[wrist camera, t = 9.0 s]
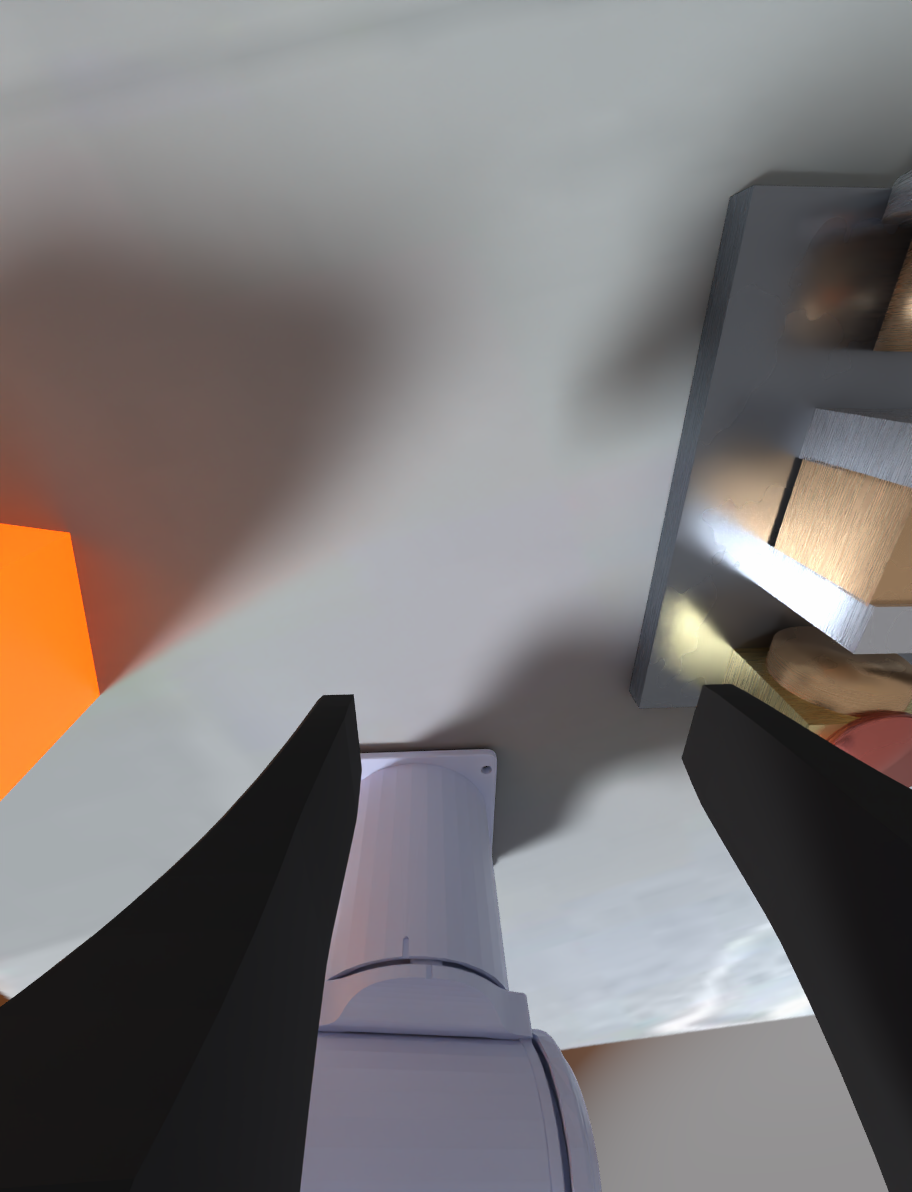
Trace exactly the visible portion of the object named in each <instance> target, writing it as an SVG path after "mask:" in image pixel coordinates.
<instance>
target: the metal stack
mask: <svg viewBox="0 0 912 1192" xmlns="http://www.w3.org/2000/svg"><path fill="white" fill-rule="evenodd" d="M815 408H859V409H912V170H911V171H909V172H907V173H905V174H904V175H902V176H901V177H899V178H898V179H897V180H896V181H895V183H894V184H893V187H892V188H862V187H815V186H768V185H754V186H752V187H750V188H748V189H745V190H743V191H741V192H739V193H737V194H735V195H733V196H731V197H730V200H729V205H728V210H727V215H726V220H725V224H724V229H723V234H722V239H721V244H720V249H719V254H718V259H717V264H716V268H715V273H714V278H713V283H712V288H711V293H710V298H709V303H708V308H707V313H706V317H705V322H704V327H703V332H702V337H701V342H700V347H699V352H698V357H697V361H696V366H695V371H694V376H693V381H692V386H691V391H690V396H689V401H688V406H687V410H686V415H685V420H684V425H683V430H682V435H681V440H680V445H679V450H678V455H677V459H676V464H675V469H674V474H673V479H672V484H671V489H670V494H669V499H668V503H667V508H666V513H665V518H664V523H663V528H662V533H661V538H660V543H659V548H658V552H657V557H656V562H655V567H654V572H653V577H652V582H651V587H650V592H649V596H648V601H647V606H646V611H645V616H644V621H643V626H642V631H641V636H640V641H639V645H638V650H637V655H636V660H635V665H634V670H633V675H632V680H631V685H630V689H629V692H630V694H631V695H632V697H633V699H634V700H635V702H636V704H637V706H638V707H639V708H669V707H696V706H697V703H698V699H699V696H700V693H701V689H702V686H703V685H710V684H732V685H734V686H736V687H738V688H740V689H742V690H744V691H746V692H747V693H749V694H751V695H753V696H754V697H756V698H758V699H760V700H761V701H763V702H765V703H766V704H768V705H770V706H771V707H773V708H774V709H776V710H778V711H779V712H781V713H783V714H784V715H786V716H788V717H789V718H791V719H792V720H794V721H796V722H797V723H799V724H801V725H802V726H804V727H805V728H807V729H809V730H810V731H812V732H814V733H815V734H817V735H819V736H820V737H822V738H823V739H825V740H827V741H828V742H830V743H832V744H833V745H835V746H837V747H838V748H840V749H842V750H843V751H845V752H847V753H848V754H850V755H852V756H854V757H855V758H857V759H859V760H860V761H862V762H864V763H866V764H867V765H869V766H871V767H872V768H874V769H876V770H878V771H879V772H881V773H883V774H885V775H887V776H888V777H890V778H892V779H894V780H896V781H897V782H899V783H901V784H903V785H905V786H906V787H908V788H909V787H911V786H912V653H890V654H853V653H852V652H850V651H849V650H847V649H846V648H845V647H843V646H842V645H840V644H839V643H838V642H836V641H835V640H834V639H832V638H831V637H829V636H828V635H827V634H825V633H824V632H823V631H821V630H820V629H818V628H817V627H816V626H814V625H813V624H812V623H810V622H809V621H807V620H806V619H805V618H803V617H802V616H801V615H799V614H798V613H796V612H795V611H794V610H792V609H791V608H789V607H788V606H787V605H785V604H784V603H783V602H781V601H780V600H778V599H777V598H776V597H774V596H773V595H772V594H770V593H769V592H767V591H766V590H765V589H763V588H762V587H761V586H759V585H758V583H759V580H760V577H761V574H762V571H763V568H764V565H765V562H766V559H767V556H768V552H769V549H770V546H775V543H776V540H777V537H778V534H779V531H780V528H781V525H782V522H783V519H784V515H785V512H786V509H787V506H788V503H789V500H790V497H791V494H792V491H793V488H794V485H795V482H796V479H797V476H798V472H799V469H800V466H801V463H802V460H803V459H800V458H799V456H800V453H801V450H802V447H803V444H804V440H805V437H806V434H807V431H808V428H809V425H810V422H811V419H812V416H813V412H814V409H815Z"/></svg>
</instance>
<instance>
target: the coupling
mask: <svg viewBox="0 0 912 1192" xmlns="http://www.w3.org/2000/svg"><path fill="white" fill-rule="evenodd" d="M799 458H800V459H803V460H802V463H801V466H800V469H799V472H798V476H797V479H796V482H795V485H794V488H793V491H792V494H791V497H790V500H789V503H788V506H787V509H786V512H785V515H784V519H783V522H782V525H781V528H780V531H779V534H778V537H777V540H776V543H775V546H770V549H769V552H768V556H767V559H766V562H765V565H764V568H763V571H762V574H761V577H760V580H759V583H758V585H759V586H761V587H762V588H763V589H765V590H766V591H767V592H769V593H770V594H772V595H773V596H774V597H776V598H777V599H778V600H780V601H781V602H783V603H784V604H785V605H787V606H788V607H789V608H791V609H792V610H794V611H795V612H796V613H798V614H799V615H801V616H802V617H803V618H805V619H806V620H807V621H809V622H810V623H812V624H813V625H814V626H816V627H817V628H818V629H820V630H821V631H823V632H824V633H825V634H827V635H828V636H829V637H831V638H832V639H834V640H835V641H836V642H838V643H839V644H840V645H842V646H843V647H845V648H846V649H847V650H849V651H850V652H852V653H853V654H890V653H912V409H859V408H815V409H814V412H813V416H812V419H811V422H810V425H809V428H808V431H807V434H806V437H805V440H804V444H803V447H802V450H801V453H800V456H799Z"/></svg>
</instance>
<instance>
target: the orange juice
mask: <svg viewBox="0 0 912 1192" xmlns="http://www.w3.org/2000/svg"><path fill="white" fill-rule="evenodd" d="M99 695H100V694H99V689H98V683H97V678H96V672H95V667H94V662H93V656H92V651H91V645H90V640H89V634H88V629H87V624H86V618H85V613H84V607H83V602H82V596H81V591H80V585H79V580H78V575H77V569H76V564H75V558H74V553H73V547H72V542H71V537H70V533H67V532H60V531H52V530H45V529H38V528H30V527H23V526H16V525H8V524H1V523H0V801H1V800H2V799H3V798H4V797H5V796H6V795H7V793H8V792H9V791H10V790H11V789H12V788H13V787H14V786H15V785H16V784H17V783H18V782H19V781H20V780H21V779H22V778H23V776H24V775H25V774H26V773H27V772H28V771H29V770H30V769H31V768H32V767H33V766H34V765H35V764H36V763H37V762H38V760H39V759H40V758H41V757H42V756H43V755H44V754H45V753H46V752H47V751H48V750H49V749H50V748H51V747H52V746H53V744H54V743H55V742H56V741H57V740H58V739H59V738H60V737H61V736H62V735H63V734H64V733H65V732H66V731H67V730H68V728H69V727H70V726H71V725H72V724H73V723H74V722H75V721H76V720H77V719H78V718H79V717H80V716H81V715H82V714H83V713H84V711H85V710H86V709H87V708H88V707H89V706H90V705H91V704H92V703H93V702H94V701H95V700H96V699H97V698H98V697H99Z"/></svg>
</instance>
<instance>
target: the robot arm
mask: <svg viewBox="0 0 912 1192" xmlns="http://www.w3.org/2000/svg"><path fill="white" fill-rule="evenodd" d="M682 760H683V763H684V765H685V768H686V770H687V772H688V775H689V777H690V780H691V782H692V785H693V787H694V789H695V791H696V794H697V796H698V798H699V800H700V803H701V805H702V807H703V808H704V810H705V812H706V814H707V815H708V817H709V819H710V821H711V822H712V824H713V826H714V828H715V829H716V831H717V833H718V835H719V836H720V838H721V840H722V841H723V843H724V845H725V847H726V848H727V850H728V852H729V853H730V855H731V857H732V858H733V860H734V862H735V863H736V865H737V867H738V869H739V870H740V872H741V874H742V875H743V877H744V879H745V880H746V882H747V884H748V886H749V887H750V889H751V891H752V892H753V894H754V896H755V897H756V899H757V901H758V902H759V904H760V906H761V908H762V909H763V911H764V913H765V914H766V916H767V918H768V920H769V922H770V923H771V925H772V927H773V929H774V931H775V933H776V935H777V936H778V938H779V940H780V942H781V944H782V946H783V948H784V950H785V952H786V954H787V956H788V959H789V961H790V963H791V965H792V967H793V969H794V971H795V973H796V975H797V977H798V979H799V982H800V984H801V986H802V988H803V990H804V992H805V994H806V996H807V998H808V1000H809V1003H810V1005H811V1007H812V1009H813V1011H814V1014H815V1016H816V1018H817V1020H818V1023H819V1025H820V1027H821V1029H822V1032H823V1034H824V1036H825V1038H826V1041H827V1043H828V1045H829V1047H830V1049H831V1052H832V1054H833V1056H834V1058H835V1061H836V1063H837V1065H838V1067H839V1070H840V1072H841V1074H842V1077H843V1079H844V1082H845V1084H846V1086H847V1089H848V1091H849V1094H850V1096H851V1098H852V1101H853V1103H854V1106H855V1108H856V1111H857V1113H858V1115H859V1118H860V1120H861V1122H862V1125H863V1127H864V1130H865V1132H866V1135H867V1137H868V1139H869V1142H870V1144H871V1147H872V1149H873V1152H874V1154H875V1157H876V1159H877V1162H878V1164H879V1167H880V1170H881V1172H882V1175H883V1178H884V1180H885V1183H886V1185H887V1188H888V1191H889V1192H912V789H910V788H908V787H906V786H905V785H903V784H901V783H899V782H897V781H896V780H894V779H892V778H890V777H888V776H887V775H885V774H883V773H881V772H879V771H878V770H876V769H874V768H872V767H871V766H869V765H867V764H866V763H864V762H862V761H860V760H859V759H857V758H855V757H854V756H852V755H850V754H848V753H847V752H845V751H843V750H842V749H840V748H838V747H837V746H835V745H833V744H832V743H830V742H828V741H827V740H825V739H823V738H822V737H820V736H819V735H817V734H815V733H814V732H812V731H810V730H809V729H807V728H805V727H804V726H802V725H801V724H799V723H797V722H796V721H794V720H792V719H791V718H789V717H788V716H786V715H784V714H783V713H781V712H779V711H778V710H776V709H774V708H773V707H771V706H770V705H768V704H766V703H765V702H763V701H761V700H760V699H758V698H756V697H754V696H753V695H751V694H749V693H747V692H746V691H744V690H742V689H740V688H738V687H736V686H734V685H732V684H710V685H703V686H702V689H701V693H700V696H699V699H698V703H697V706H696V710H695V713H694V717H693V720H692V724H691V727H690V731H689V734H688V738H687V741H686V745H685V748H684V752H683V755H682ZM484 766H489V767H487V768H483V767H484ZM496 773H497V757H496V753H495V752H494V751H492V750H490V749H473V750H443V751H413V752H383V753H360V748H359V739H358V730H357V721H356V712H355V703H354V694H352V695H323V696H322V697H321V698H320V699H319V700H318V701H317V702H316V704H315V705H314V706H313V708H312V709H311V711H310V712H309V713H308V715H307V716H306V717H305V719H304V720H303V721H302V723H301V724H300V725H299V727H298V728H297V729H296V731H295V732H294V733H293V735H292V736H291V737H290V739H289V740H288V741H287V742H286V744H285V745H284V746H283V747H282V749H281V750H280V751H279V752H278V754H277V755H276V756H275V757H274V759H273V760H272V761H271V762H270V763H269V765H268V766H267V767H266V768H265V770H264V771H263V772H262V773H261V774H260V776H259V777H258V778H257V779H256V780H255V781H254V783H253V784H252V785H251V786H250V787H249V788H248V789H247V790H246V791H245V793H244V794H243V795H242V796H241V797H240V798H239V799H238V800H237V801H236V802H235V804H234V805H233V806H232V807H231V808H230V809H229V810H228V811H227V812H226V814H225V815H224V816H223V817H222V818H221V819H220V820H219V821H218V822H217V823H216V824H215V825H214V826H213V827H212V828H211V829H210V830H209V831H208V832H207V833H206V834H205V835H204V836H203V837H202V838H201V839H200V840H199V841H198V842H197V843H196V844H195V845H194V846H193V847H192V848H191V849H190V850H189V851H188V852H187V853H186V854H185V855H184V856H183V857H182V858H181V859H180V860H179V861H178V862H177V863H176V864H175V865H173V866H172V867H171V868H170V869H169V870H168V871H167V872H166V873H165V874H164V875H163V876H161V877H160V878H159V879H158V880H157V881H156V882H155V883H154V884H152V885H151V886H150V887H149V888H148V889H147V890H146V891H145V892H143V893H142V894H141V895H140V896H139V897H138V898H137V899H136V900H134V901H133V902H132V903H131V904H130V905H129V906H128V907H126V908H125V909H124V910H123V911H122V912H121V913H119V914H118V915H117V916H116V917H115V918H114V919H112V920H111V921H110V922H109V923H108V924H106V925H105V926H104V927H103V928H102V929H100V930H99V931H98V932H97V933H96V934H94V935H93V936H92V937H90V938H89V939H88V940H87V941H85V942H84V943H83V944H82V945H80V946H79V947H78V948H76V949H75V950H74V951H73V952H71V953H70V954H69V955H68V956H66V957H65V958H64V959H62V960H61V961H60V962H59V963H57V964H56V965H55V966H54V967H52V968H51V969H50V970H48V971H47V972H46V973H45V974H43V975H42V976H41V977H40V978H38V979H37V980H36V981H34V982H33V983H32V984H30V985H29V986H28V987H26V988H25V989H24V990H22V991H21V992H20V993H18V994H17V995H16V996H15V997H13V998H12V999H10V1000H9V1001H8V1002H6V1003H5V1004H4V1005H2V1006H1V1007H0V1192H602V1190H601V1181H600V1174H599V1166H598V1160H597V1154H596V1148H595V1143H594V1137H593V1133H592V1128H591V1124H590V1120H589V1116H588V1112H587V1108H586V1105H585V1102H584V1099H583V1096H582V1093H581V1090H580V1087H579V1085H578V1082H577V1080H576V1077H575V1075H574V1073H573V1071H572V1069H571V1067H570V1066H569V1064H568V1063H567V1061H566V1060H565V1058H564V1057H563V1055H562V1053H561V1051H560V1049H559V1047H558V1046H557V1044H556V1043H555V1041H554V1040H553V1038H552V1037H551V1036H550V1035H549V1034H547V1033H546V1032H544V1031H541V1030H538V1029H531V1023H530V1016H529V1010H528V1003H527V996H526V995H525V994H524V993H519V992H512V991H509V988H508V980H507V972H506V964H505V956H504V948H503V940H502V932H501V924H500V916H499V908H498V900H497V892H496V884H495V876H494V868H493V860H492V842H493V825H494V807H495V790H496Z"/></svg>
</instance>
